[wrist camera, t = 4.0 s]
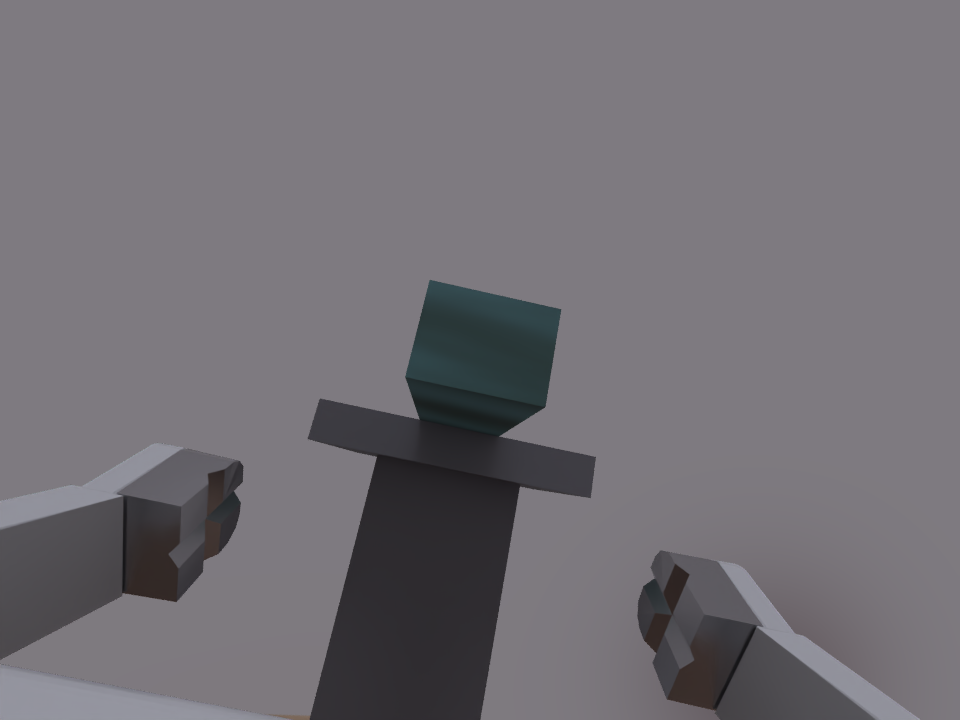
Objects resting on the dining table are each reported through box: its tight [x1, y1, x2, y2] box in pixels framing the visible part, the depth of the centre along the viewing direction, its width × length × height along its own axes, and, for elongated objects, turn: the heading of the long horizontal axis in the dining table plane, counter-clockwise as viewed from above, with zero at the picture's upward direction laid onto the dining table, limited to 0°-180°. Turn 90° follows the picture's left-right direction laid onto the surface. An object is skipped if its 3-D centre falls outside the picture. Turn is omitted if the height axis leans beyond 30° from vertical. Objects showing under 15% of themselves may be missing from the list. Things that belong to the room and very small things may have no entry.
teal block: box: [405, 280, 561, 436], centre depth 26 cm, size 28×4×3 cm, turn 5°
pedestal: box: [308, 399, 596, 720], centre depth 25 cm, size 14×14×26 cm
